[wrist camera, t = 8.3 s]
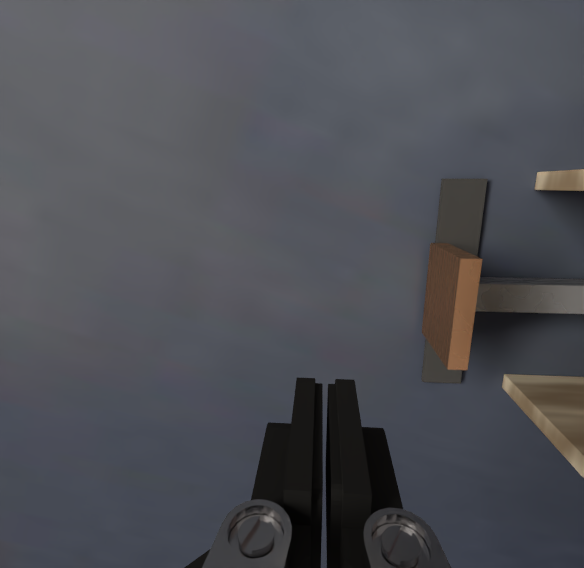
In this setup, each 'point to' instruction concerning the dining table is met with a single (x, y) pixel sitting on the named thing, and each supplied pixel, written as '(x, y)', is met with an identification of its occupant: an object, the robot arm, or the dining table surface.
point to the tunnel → (554, 389)
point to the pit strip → (464, 235)
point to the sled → (482, 300)
